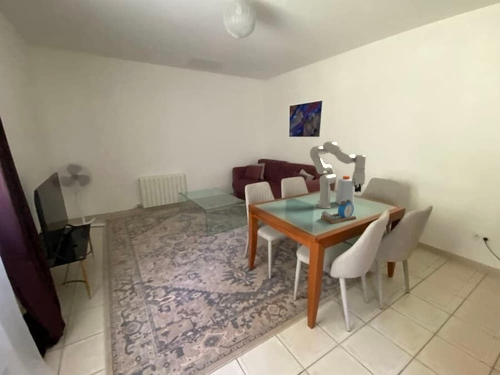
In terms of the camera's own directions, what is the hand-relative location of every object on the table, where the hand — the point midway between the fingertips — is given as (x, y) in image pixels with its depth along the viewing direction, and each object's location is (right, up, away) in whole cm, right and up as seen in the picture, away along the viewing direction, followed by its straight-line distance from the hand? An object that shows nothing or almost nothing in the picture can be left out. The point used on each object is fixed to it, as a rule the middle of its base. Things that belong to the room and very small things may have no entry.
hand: (357, 191), depth 187 cm
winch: (-27, -24, -7) cm, 37 cm away
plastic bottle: (+5, -13, +38) cm, 40 cm away
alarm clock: (-10, -22, +1) cm, 24 cm away
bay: (-16, -23, -1) cm, 27 cm away
